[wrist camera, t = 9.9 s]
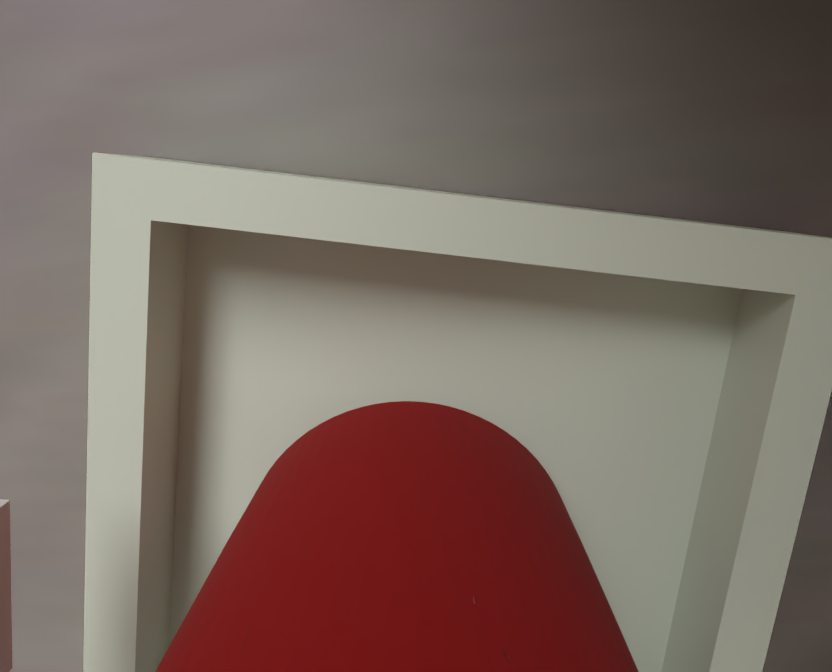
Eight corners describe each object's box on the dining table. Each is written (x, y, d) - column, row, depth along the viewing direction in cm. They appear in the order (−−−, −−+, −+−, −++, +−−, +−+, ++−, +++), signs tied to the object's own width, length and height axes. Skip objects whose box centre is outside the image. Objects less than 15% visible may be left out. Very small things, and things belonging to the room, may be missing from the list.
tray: (149, 157, 14) (92, 152, 12) (793, 232, 15) (868, 243, 12) (129, 717, 17) (81, 806, 15) (671, 775, 17) (712, 873, 15)
